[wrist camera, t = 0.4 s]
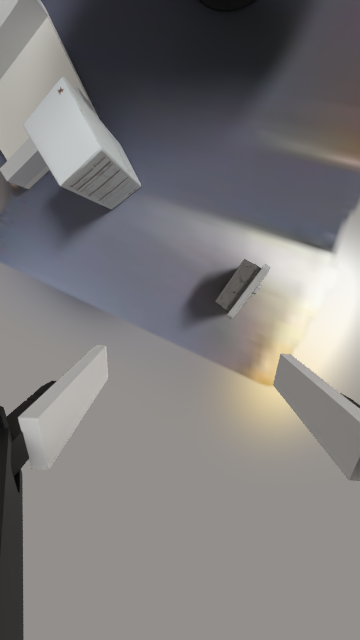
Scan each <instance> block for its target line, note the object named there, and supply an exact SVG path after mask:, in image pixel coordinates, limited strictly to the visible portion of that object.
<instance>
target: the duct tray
mask: <svg viewBox="0 0 360 640" xmlns="http://www.w3.org/2000/svg"><path fill="white" fill-rule="evenodd" d="M62 77H65V79H66V80H67V81H68V82H69V83H70V85H71V86H72V87H73V88H74V89H75V91H76V92H77V93H78V94H79V95H80V97H81V98H82V99H83V100H84V101H85V103H86V104H87V105H88V106H89V107H90V109H91V110H92V111H93V112H94V113H95V115H96V116H97V117H98V115H97V113H96V111H95V109H94V107H93V105H92V103H91V101H90V99H89V97H88V95H87V92H86V90H85V88H84V86H83V84H82V82H81V80H80V78H79V76H78V74H77V72H76V70H75V68H74V66H73V64H72V62H71V60H70V58H69V56H68V53H67V51H66V49H65V47H64V45H63V43H62V41H61V39H60V37H59V35H58V33H57V31H56V29H55V27H54V25H53V23H52V21H51V19H50V17H49V15H48V12H47V10H46V8H45V7H44V5H43V4H42V2H41V1H40V0H0V150H1V151H2V153H3V155H4V156H5V158H6V160H7V162H6V163H5V164H4V165H3V166H2V167H1V168H0V171H1V173H2V174H3V175H4V177H5V179H6V180H7V181H8V182H10V183H13V184H16V185H18V186H21V187H24V188H26V189H30V188H31V187H32V186H33V185H34V184H35V183H36V182H37V181H38V180H39V179H40V178H42V177H43V176H44V175H45V174H46V173H47V172H48V171H49V170H50V169H49V167H48V166H47V164H46V163H45V161H44V159H43V158H42V156H41V154H40V153H39V151H38V150H37V148H36V146H35V145H34V143H33V141H32V140H31V138H30V136H29V135H28V133H27V132H26V130H25V128H24V127H23V125H24V123H25V122H26V120H27V119H28V118H29V117H30V115H31V114H32V113H33V112H34V110H35V109H36V108H37V107H38V105H39V104H40V103H41V102H42V100H43V99H44V98H45V97H46V95H47V94H48V93H49V92H50V90H51V89H52V88H53V87H54V86H55V84H56V83H57V82H58V81H59V80H60V79H61V78H62ZM98 118H99V117H98Z"/></svg>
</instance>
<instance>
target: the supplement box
mask: <svg viewBox="0 0 360 640" xmlns="http://www.w3.org/2000/svg"><path fill="white" fill-rule="evenodd" d="M23 127H24V128H25V130H26V132H27V133H28V135H29V136H30V138H31V140H32V141H33V143H34V145H35V146H36V148H37V150H38V151H39V153H40V154H41V156H42V158H43V159H44V161H45V163H46V164H47V166H48V167H49V169H50V171H51V172H52V174H53V176H54V177H55V179H56V181H57V182H58V184H59V186H61V187H63V188H65V189H67V190H69V191H72V192H74V193H76V194H78V195H80V196H83V197H85V198H87V199H89V200H91V201H94V202H96V203H98V204H100V205H102V206H104V207H107V208H109V209H111V210H112V209H113V208H115V207H116V206H117V205H118V204H120V203H121V202H122V201H124V200H125V199H126V198H127V197H129V196H130V195H131V194H133V193H134V192H135V191H136V190H138V189H139V188H140V187H141V184H140V182H139V180H138V178H137V176H136V174H135V172H134V170H133V168H132V166H131V164H130V162H129V160H128V158H127V156H126V154H125V152H124V150H123V149H122V147H121V145H120V143H119V142H118V141H117V140H116V139H115V137H114V136H113V135H112V134H111V133H110V131H109V130H108V129H107V128H106V127H105V125H104V124H103V123H102V122H101V121H100V119H99V118H98V117H97V116H96V115H95V113H94V112H93V111H92V110H91V109H90V107H89V106H88V105H87V104H86V103H85V101H84V100H83V99H82V98H81V97H80V95H79V94H78V93H77V92H76V91H75V89H74V88H73V87H72V86H71V85H70V83H69V82H68V81H67V80H66V79H65V77H62V78H61V79H60V80H59V81H58V82H57V83H56V84H55V86H54V87H53V88H52V89H51V90H50V92H49V93H48V94H47V95H46V97H45V98H44V99H43V100H42V102H41V103H40V104H39V105H38V107H37V108H36V109H35V110H34V112H33V113H32V114H31V115H30V117H29V118H28V119H27V120H26V122H25V123H24V125H23Z"/></svg>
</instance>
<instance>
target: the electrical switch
mask: <svg viewBox="0 0 360 640" xmlns="http://www.w3.org/2000/svg"><path fill="white" fill-rule="evenodd" d="M240 269H241V270H240ZM269 269H270V267H269V266H268V265H267V264H265V265H264V266H263V267H262V268H260V267H258V266H257V265H255V264H253V263H251V262H249V261H247V260H243V262H242V263H241V265H240V266H239V268H238V269H237V271H236V272H235V273H234V275H233V276H232V278H231V279H230V281H229V282H228V284H227V285H226V287H225V288H224V289H223V291H222V292H221V294H220V295H219V297H218V298H217V300H216V301H215V302H216V303H218V304H219V305H221V306H222V307H223V308H224V309H225V310H227V311H228V312H229V313H228V314H227V316H226V317H228V318H230V319H232V318H233V317H234V316H235V315H236V314H237V312H238V311H239V310H240V309H241V307H242V306H243V305H244V304H245V303H246V301H247V300H248V299H249V298H250V296H251V294H252V293H253V294H256V293H257V292H258V291H259V289H260V288H261V285H259V284H260V283H261V281H262V280H263V279H264V277H265V276H266V275H267V273H268V272H269Z"/></svg>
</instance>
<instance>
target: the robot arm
mask: <svg viewBox="0 0 360 640" xmlns="http://www.w3.org/2000/svg"><path fill="white" fill-rule="evenodd" d="M200 1H202V2H203V3H204V4H206V5H207V6H209V7H211V8H214V9H217V10H234V9H238V8H241V7H243V6H246V5H247V4H249V3H251V2H253V1H254V0H200ZM107 379H108V365H107V352H106V346H103V345H96V346H94V347H93V348H92V349H91V350H90V351H89V352H88V353H87V354H86V355H85V356H84V357H83V358H81V359H80V360H79V361H78V362H77V363H76V364H75V365H74V366H73V367H72V368H71V369H70V370H68V371H67V372H66V373H65V374H64V375H63V376H62V377H61V378H60V379H59V380H58V381H51V382H49V383H47V384H45V385H44V386H42V387H41V388H39V389H38V390H37V391H36V392H35V393H34V394H33V395H31V396H30V397H29V398H28V399H27V401H24V402H23V403H22V404H21V405H20V406H19V407H17V408H16V409H15V410H14V411H13V412H12V413H10V414H9V415H8V416H7V417H6V414H5V411H4V408H3V407H1V406H0V640H23V528H22V527H23V523H22V521H23V519H22V518H23V517H22V516H23V514H22V471H21V468H22V466H23V465H24V464H25V462H26V461H27V460H28V459H29V462H30V467H31V469H48V470H49V469H50V467H51V466H52V464H53V463H54V461H55V460H56V458H57V457H58V455H59V453H60V452H61V450H62V449H63V447H64V446H65V444H66V443H67V441H68V440H69V438H70V436H71V435H72V433H73V432H74V430H75V429H76V427H77V426H78V424H79V422H80V421H81V419H82V418H83V416H84V415H85V413H86V412H87V410H88V408H89V407H90V405H91V404H92V402H93V401H94V399H95V398H96V396H97V394H98V393H99V392H100V390H101V388H102V387H103V385H104V384H105V382H106V381H107ZM273 385H274V387H275V388H276V389H277V390H278V392H279V393H280V394H281V395H282V397H283V398H284V399H285V400H286V402H287V403H288V404H289V405H290V406H291V408H292V409H293V410H294V412H295V413H296V414H297V416H298V417H299V418H300V419H301V421H302V422H303V423H304V424H305V426H306V427H307V428H308V429H309V431H310V432H311V433H312V434H313V436H314V437H315V438H316V439H317V441H318V442H319V443H320V445H321V446H322V447H323V448H324V450H325V451H326V452H327V453H328V455H329V456H330V457H331V458H332V460H333V461H334V462H335V463H336V465H337V466H338V467H339V468H340V470H341V471H342V472H343V473H344V475H345V476H346V477H347V479H348V480H354V481H355V480H356V481H360V405H358V404H357V403H356V402H354V401H353V400H352V399H350V398H348V397H346V396H345V395H343V394H341V393H339V392H338V391H337V390H335V389H334V388H333V387H331V386H330V385H329V384H327V383H326V382H325V381H324V380H323V379H321V378H320V377H319V376H317V375H316V374H315V373H314V372H312V371H311V370H310V369H309V368H307V367H306V366H305V365H303V364H302V363H301V362H300V361H298V360H297V359H296V358H294V357H293V356H292V355H291V354H280V359H279V363H278V367H277V371H276V376H275V380H274V384H273Z"/></svg>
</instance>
